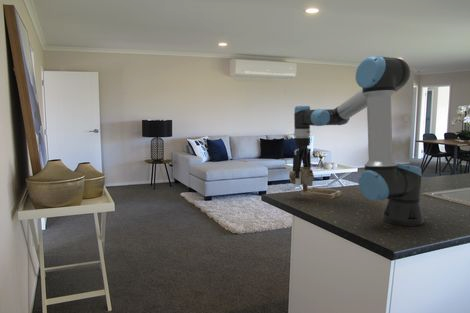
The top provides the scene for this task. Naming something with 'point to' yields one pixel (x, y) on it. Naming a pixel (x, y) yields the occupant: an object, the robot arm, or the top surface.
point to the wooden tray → (331, 192)
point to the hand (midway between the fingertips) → (301, 183)
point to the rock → (303, 176)
